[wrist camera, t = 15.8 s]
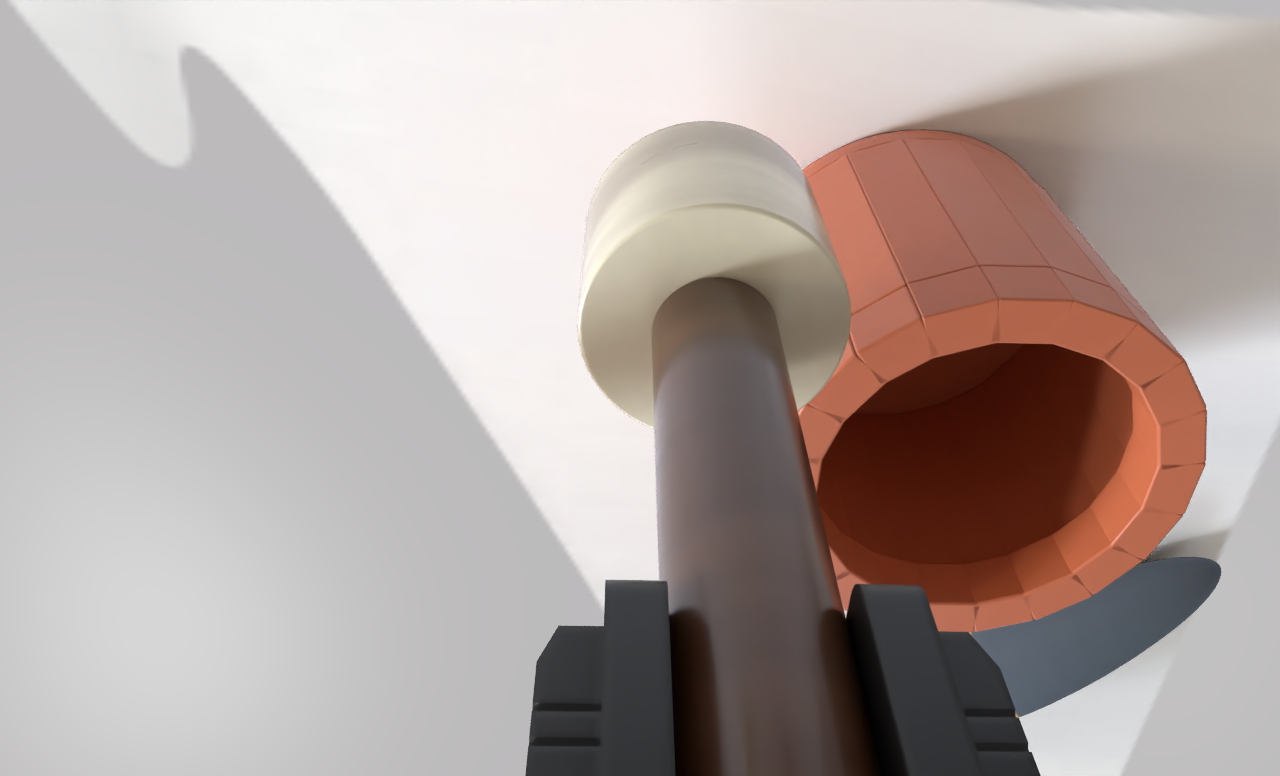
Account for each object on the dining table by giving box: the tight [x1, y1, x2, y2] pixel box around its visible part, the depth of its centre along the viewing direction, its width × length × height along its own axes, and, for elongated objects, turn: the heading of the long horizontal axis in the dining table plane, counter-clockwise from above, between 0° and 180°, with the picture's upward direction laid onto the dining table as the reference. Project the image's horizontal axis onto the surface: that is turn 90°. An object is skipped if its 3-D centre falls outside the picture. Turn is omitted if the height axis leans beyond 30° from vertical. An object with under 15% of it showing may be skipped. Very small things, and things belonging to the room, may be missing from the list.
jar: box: [798, 130, 1207, 633], centre depth 28 cm, size 10×10×10 cm
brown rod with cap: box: [577, 121, 882, 776], centre depth 15 cm, size 5×5×16 cm
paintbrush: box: [970, 557, 1221, 717], centre depth 39 cm, size 20×5×5 cm, turn 128°
